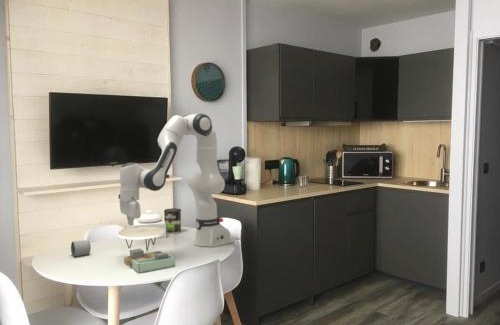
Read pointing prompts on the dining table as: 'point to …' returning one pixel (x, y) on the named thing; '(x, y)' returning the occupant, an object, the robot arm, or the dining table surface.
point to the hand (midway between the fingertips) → (130, 224)
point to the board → (146, 256)
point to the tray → (152, 264)
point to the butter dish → (150, 221)
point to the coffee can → (172, 220)
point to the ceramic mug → (80, 248)
